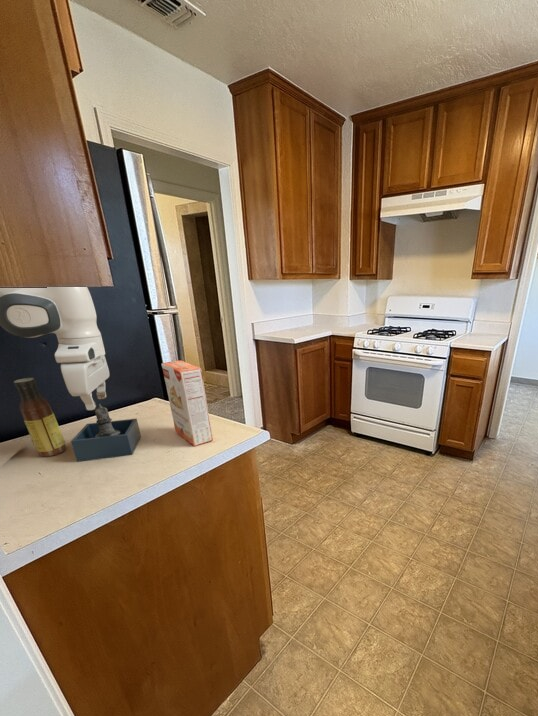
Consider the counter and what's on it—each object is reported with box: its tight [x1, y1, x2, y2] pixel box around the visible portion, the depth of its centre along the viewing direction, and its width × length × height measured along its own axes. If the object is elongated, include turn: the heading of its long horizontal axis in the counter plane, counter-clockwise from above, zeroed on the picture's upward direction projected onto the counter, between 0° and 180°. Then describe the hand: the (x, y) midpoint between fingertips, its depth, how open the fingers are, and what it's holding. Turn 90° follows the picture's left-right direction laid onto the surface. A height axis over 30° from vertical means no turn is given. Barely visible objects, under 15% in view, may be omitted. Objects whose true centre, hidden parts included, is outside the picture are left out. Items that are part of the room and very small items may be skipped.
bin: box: [70, 418, 142, 463], centre depth 94 cm, size 13×13×6 cm
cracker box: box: [161, 359, 214, 447], centre depth 97 cm, size 14×6×21 cm, turn 41°
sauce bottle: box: [13, 377, 67, 457], centre depth 89 cm, size 6×6×20 cm
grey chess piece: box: [94, 403, 120, 438], centre depth 93 cm, size 6×6×12 cm
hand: (97, 403), depth 90 cm, fingers open, 8 cm apart
